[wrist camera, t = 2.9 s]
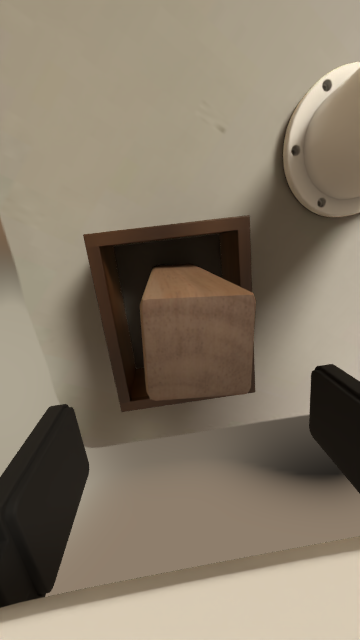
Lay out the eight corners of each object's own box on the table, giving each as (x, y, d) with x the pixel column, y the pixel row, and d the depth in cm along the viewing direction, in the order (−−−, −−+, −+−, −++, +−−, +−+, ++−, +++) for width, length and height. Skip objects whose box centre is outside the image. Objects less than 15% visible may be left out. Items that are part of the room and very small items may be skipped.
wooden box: (226, 223, 25) (249, 215, 19) (234, 361, 30) (255, 392, 23) (102, 238, 25) (82, 234, 18) (130, 376, 29) (121, 412, 23)
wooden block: (195, 341, 29) (248, 480, 12) (156, 344, 28) (153, 489, 11) (194, 263, 26) (260, 291, 9) (152, 265, 26) (137, 297, 9)
